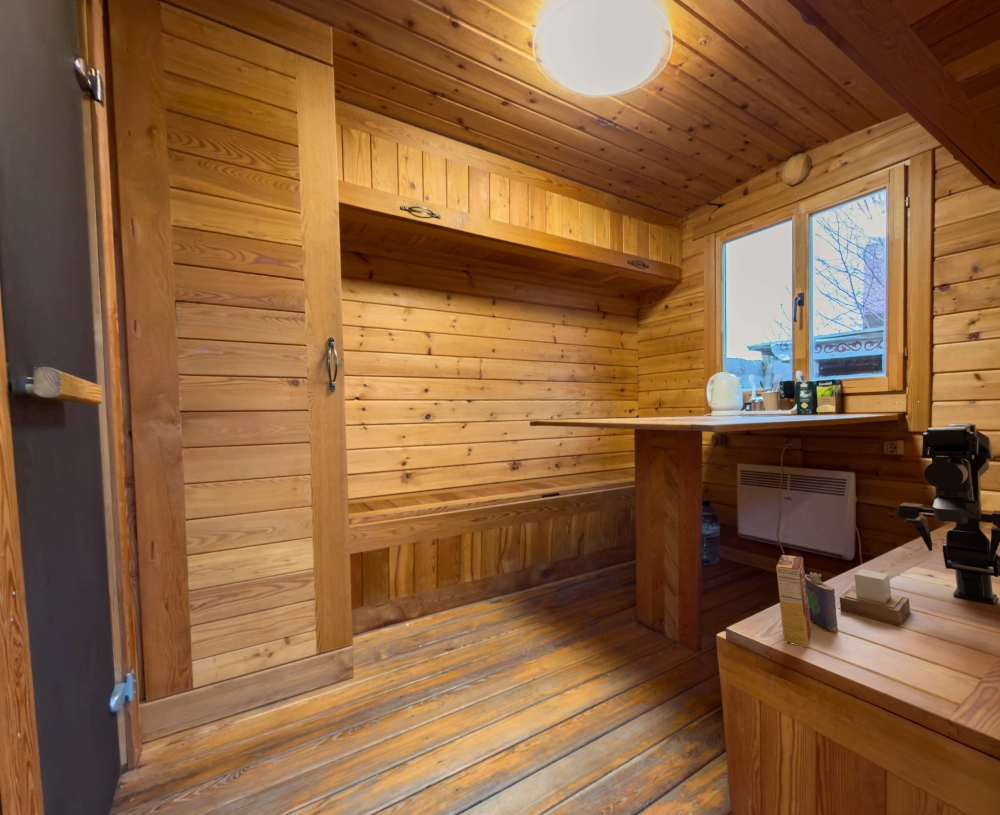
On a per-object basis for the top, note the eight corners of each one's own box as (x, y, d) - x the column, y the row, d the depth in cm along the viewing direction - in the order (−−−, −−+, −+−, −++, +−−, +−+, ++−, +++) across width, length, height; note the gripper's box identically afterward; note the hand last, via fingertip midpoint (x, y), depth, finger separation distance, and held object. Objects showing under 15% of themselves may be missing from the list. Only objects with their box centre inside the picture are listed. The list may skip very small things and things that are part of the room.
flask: (841, 633, 87) (836, 580, 87) (825, 633, 87) (820, 580, 88) (814, 613, 96) (810, 566, 96) (800, 613, 96) (796, 566, 97)
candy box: (787, 625, 91) (781, 554, 92) (811, 630, 89) (805, 557, 89) (781, 642, 84) (775, 565, 85) (808, 648, 82) (801, 569, 82)
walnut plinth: (853, 598, 103) (852, 584, 103) (910, 611, 95) (908, 596, 95) (840, 610, 97) (839, 596, 97) (899, 625, 89) (897, 609, 89)
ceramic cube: (862, 590, 99) (860, 568, 100) (891, 596, 95) (889, 574, 96) (856, 596, 96) (854, 574, 97) (885, 602, 92) (883, 579, 93)
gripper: (887, 484, 96) (894, 553, 95) (1016, 492, 81) (1025, 574, 80) (899, 479, 102) (905, 543, 102) (1020, 485, 87) (1029, 561, 87)
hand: (960, 554), depth 92 cm, fingers open, 9 cm apart
